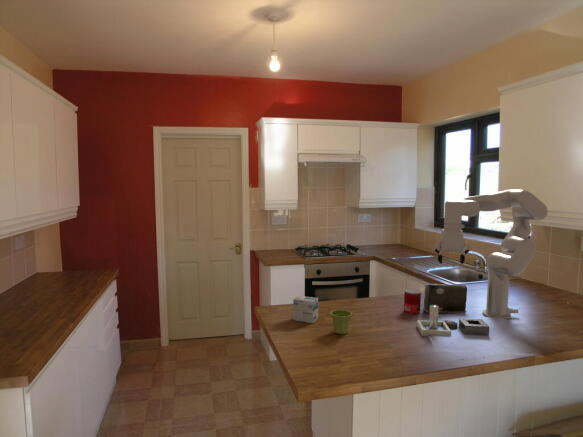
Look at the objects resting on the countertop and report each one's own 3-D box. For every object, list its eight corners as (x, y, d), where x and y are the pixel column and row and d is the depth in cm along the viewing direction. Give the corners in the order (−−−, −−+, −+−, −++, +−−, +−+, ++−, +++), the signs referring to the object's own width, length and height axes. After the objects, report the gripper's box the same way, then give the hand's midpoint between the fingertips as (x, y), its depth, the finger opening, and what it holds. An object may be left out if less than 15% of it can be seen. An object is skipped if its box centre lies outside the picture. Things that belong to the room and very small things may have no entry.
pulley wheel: (454, 325, 186) (455, 319, 185) (459, 331, 179) (459, 324, 178) (439, 324, 186) (439, 318, 186) (443, 330, 180) (443, 323, 179)
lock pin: (436, 328, 180) (437, 305, 179) (438, 331, 177) (439, 307, 175) (428, 328, 181) (429, 304, 179) (430, 331, 177) (430, 307, 176)
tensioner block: (481, 330, 180) (482, 319, 180) (488, 337, 171) (489, 326, 171) (458, 328, 182) (459, 318, 181) (464, 336, 173) (464, 325, 172)
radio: (464, 308, 210) (465, 280, 209) (472, 314, 202) (473, 285, 200) (420, 309, 210) (421, 281, 208) (427, 314, 201) (428, 285, 200)
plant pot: (326, 329, 180) (326, 311, 179) (344, 326, 184) (344, 308, 183) (336, 337, 172) (337, 317, 171) (355, 334, 175) (355, 314, 175)
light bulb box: (318, 319, 194) (318, 297, 193) (313, 323, 188) (313, 301, 187) (298, 316, 198) (298, 294, 197) (292, 320, 192) (292, 298, 191)
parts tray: (444, 327, 184) (444, 321, 183) (450, 337, 172) (451, 331, 172) (417, 325, 185) (417, 320, 185) (422, 335, 173) (422, 329, 173)
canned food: (420, 314, 200) (421, 293, 199) (404, 313, 202) (405, 292, 201) (419, 309, 208) (420, 289, 207) (403, 308, 209) (404, 288, 208)
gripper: (469, 226, 189) (467, 262, 191) (431, 225, 191) (430, 261, 193) (474, 228, 182) (472, 265, 183) (435, 227, 184) (433, 264, 186)
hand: (451, 263), depth 188 cm, fingers open, 9 cm apart
